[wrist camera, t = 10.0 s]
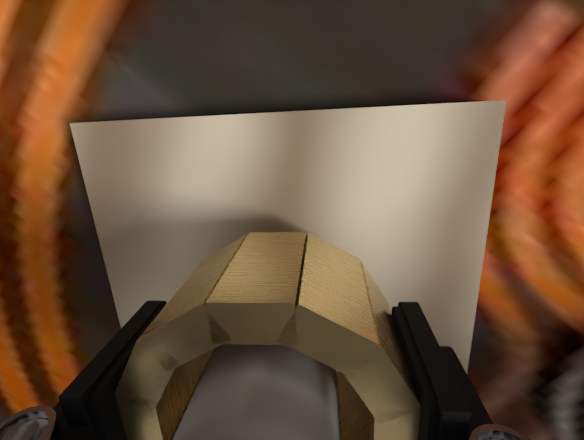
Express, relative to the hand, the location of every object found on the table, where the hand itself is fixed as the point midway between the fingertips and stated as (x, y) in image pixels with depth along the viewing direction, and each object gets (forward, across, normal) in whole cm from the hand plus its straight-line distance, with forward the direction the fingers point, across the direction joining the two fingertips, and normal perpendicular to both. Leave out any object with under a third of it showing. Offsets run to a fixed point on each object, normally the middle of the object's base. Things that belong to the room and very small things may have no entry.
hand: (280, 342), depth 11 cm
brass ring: (+1, 0, 0) cm, 1 cm away
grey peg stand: (+4, 0, 0) cm, 4 cm away
